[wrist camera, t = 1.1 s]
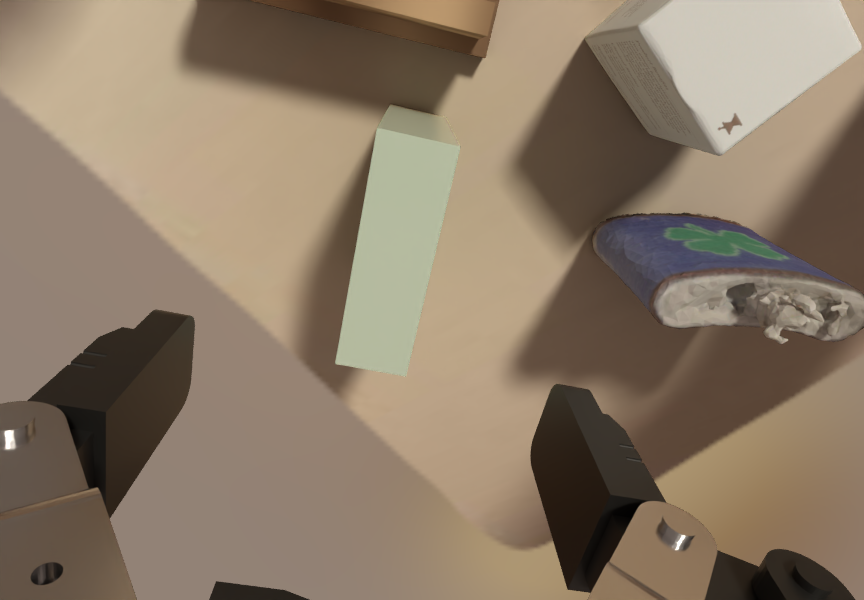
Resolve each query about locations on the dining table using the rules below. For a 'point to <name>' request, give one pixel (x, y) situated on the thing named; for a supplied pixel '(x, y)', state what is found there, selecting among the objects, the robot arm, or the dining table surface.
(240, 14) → the dining table surface
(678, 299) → the flask
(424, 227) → the sage green tall prism
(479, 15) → the rack
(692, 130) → the product box
